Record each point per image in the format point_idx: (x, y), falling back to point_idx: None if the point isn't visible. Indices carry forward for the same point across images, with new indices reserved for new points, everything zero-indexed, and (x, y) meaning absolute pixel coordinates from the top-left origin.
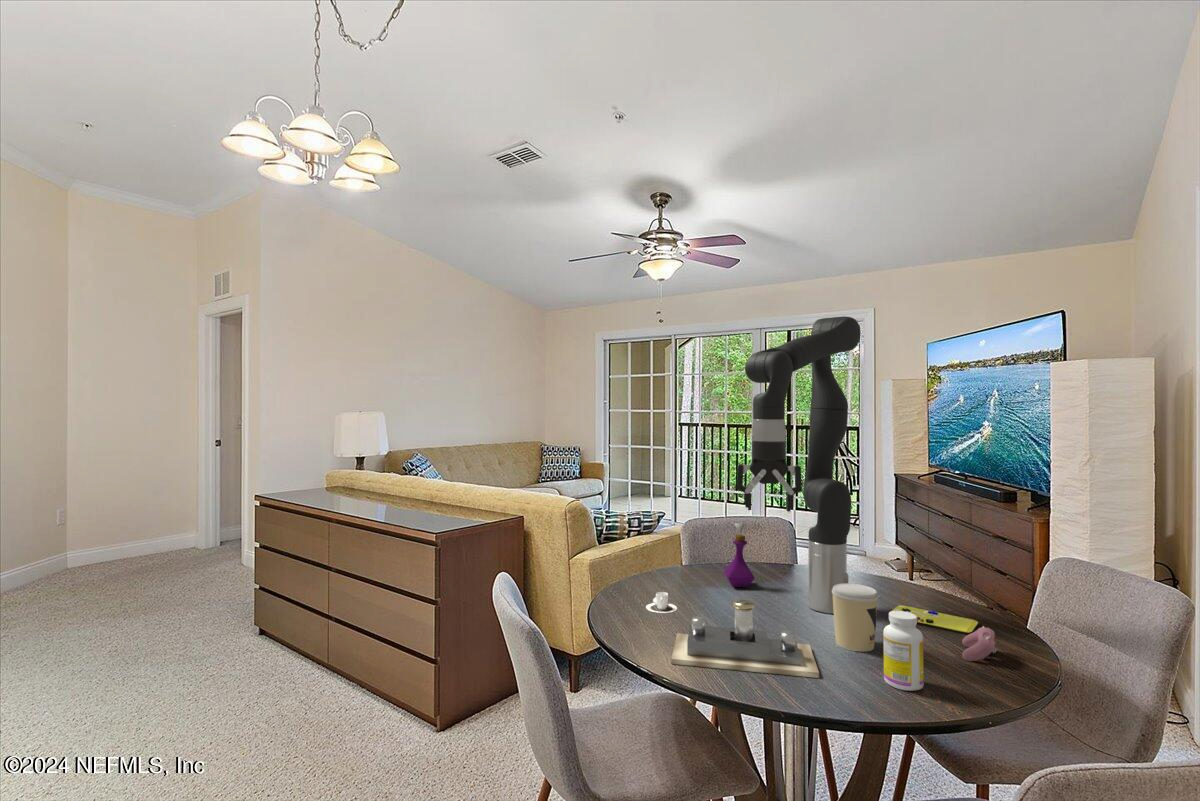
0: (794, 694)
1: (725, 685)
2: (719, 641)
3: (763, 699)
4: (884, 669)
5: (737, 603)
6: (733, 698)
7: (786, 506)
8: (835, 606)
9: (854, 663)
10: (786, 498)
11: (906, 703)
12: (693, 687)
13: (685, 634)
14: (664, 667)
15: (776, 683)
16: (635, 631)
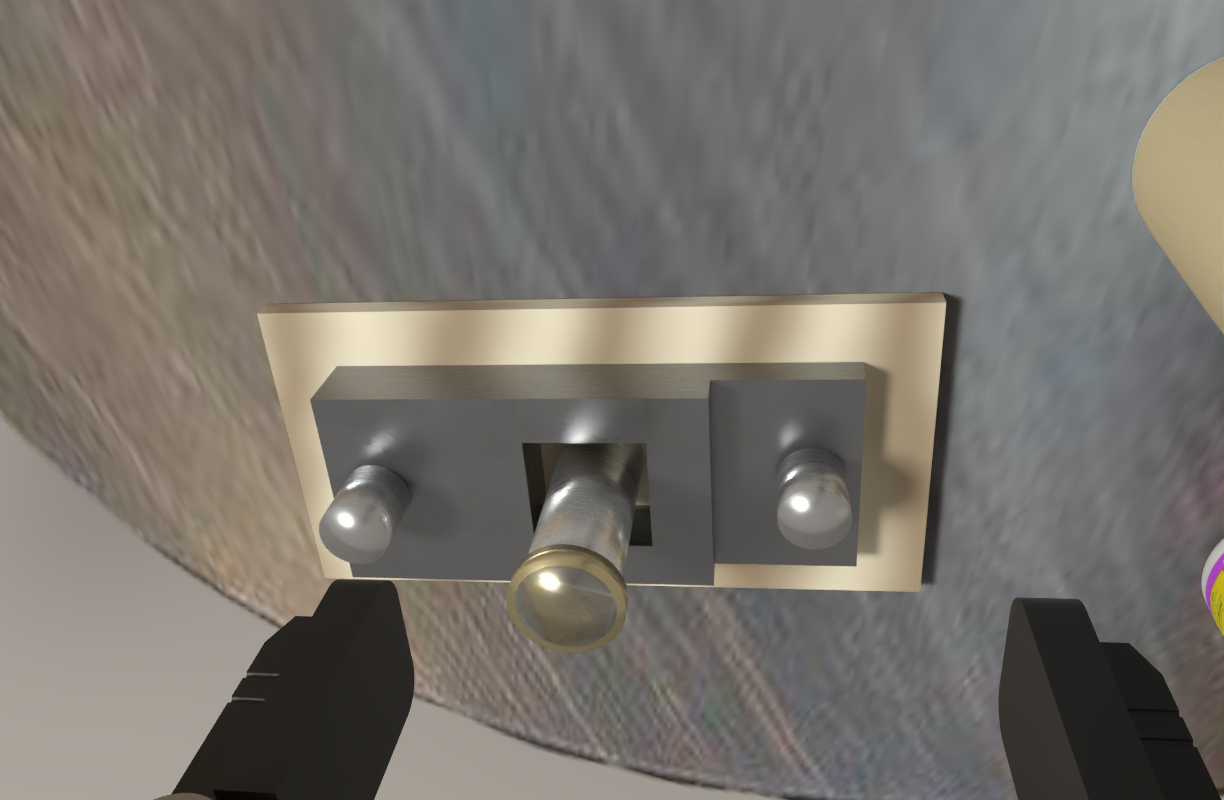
0: (797, 699)
1: (557, 679)
2: (489, 565)
3: (688, 740)
4: (1218, 604)
5: (532, 624)
6: (592, 747)
7: (1029, 639)
8: (1200, 287)
9: (1135, 410)
10: (1071, 768)
11: (1203, 700)
12: (455, 705)
13: (299, 319)
14: (318, 594)
15: (739, 640)
16: (48, 269)
